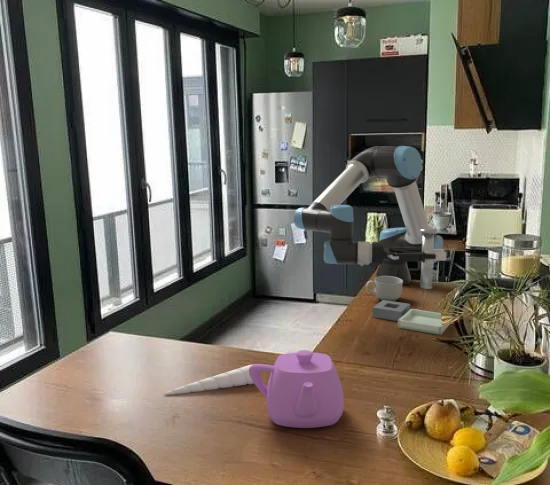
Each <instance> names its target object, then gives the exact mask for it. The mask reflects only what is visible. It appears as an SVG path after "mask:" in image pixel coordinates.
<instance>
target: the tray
mask: <svg viewBox="0 0 550 485" xmlns="http://www.w3.org/2000/svg"><path fill="white" fill-rule="evenodd" d="M441 313H442V312H435V311H428V310H424V309H423V310H421V309H417V308H416V309H415V308H410V310H409V311H408V312H407V313H406V314H405V315H403V316H402V317H401V318H400V319H399V320H398V321H397V328H399V329H405V330H409V331H410V330H411V331H416V332H422V333H427V334H433V335H438V336H442V335H443V334H444V332H446V330H447V328H449V326H450V325H451V324H452V322H451V323H450V324H448V325H446V326H444V325H442V324H441V323H442V322H443V321H442V320H441V318H440V317H441Z"/></svg>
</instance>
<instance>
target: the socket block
mask: <svg viewBox="0 0 550 485" xmlns="http://www.w3.org/2000/svg"><path fill="white" fill-rule="evenodd" d="M410 309H411V304H410V303H405V302H397V301H386V300H380V301H379V302H378V303H377V304H376V305H374V306H373V307H372V318H377V319H381V320H386V321H387V320H388V321H395V322H398V320H399V319H400V318H401V317H402V316H403V315H405V314H406V313H407V312H408V311H409V310H410Z"/></svg>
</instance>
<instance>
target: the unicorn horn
mask: <svg viewBox="0 0 550 485" xmlns="http://www.w3.org/2000/svg"><path fill="white" fill-rule="evenodd" d="M252 365H253V364H249V365H245V366H241V367H239V368H236V369H233V370H229V371H226V372H223V373H219V374H217V375H213V376H210V377H206V378H203V379H200V380H197V381H195V382H191V383H188V384H185V385H183V386H179V387H177V388H174V389H171V390H169V391H166V392H164V393H163V394H162V395H164V396H171V395H172V396H174V395H183V394H188V393H189V394H190V393H191V392H192V393H198V392H204V391H212V390H219V389H227V388H233V387H238V386H239V387H240V386H246V385H247V384H248V385H255V384H254V382H253V381H252V379H251V377H250V374H249V368H250V366H252Z"/></svg>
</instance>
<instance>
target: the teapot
mask: <svg viewBox="0 0 550 485" xmlns="http://www.w3.org/2000/svg"><path fill="white" fill-rule="evenodd" d="M251 365H252V366H250V368H249V374H250V377H251V379H252V381H253V382H254V384H253V385H255V387H257V388H258V390H259V391H260V392H261V393H262V395H263V396H264V397H265V405H266V411H267V414H268V416H269V417H270V419H271V421H272V422H273V423H274V424H276V425H278V426H282V427H287V428H296V429H297V428H298V429H312V428H313V429H314V428H321V427H322V428H323V427H328V426H333V425H335V424H336V423H337V422H338V421H339V420H340V418H341V417H342V415H343V412H344V407H345V406H344V405H345V404H344V393H343V386H342V383H341V379H340V377H339V373H338V372H337V369H336V367H335V364H334V362H333V360H332V358H331V356H329V355H328V354H327V353H326V354H325V353H322V352H321V353H320V352H312V351H310V350H308V349H302V350H298V351H296V352H290V353H289V352H288V353H282V354H280V355H279V356H277V357H276V360H275V361H274V365H272V364H265V363H255V364H251ZM261 372H270V375H269V379H268V382H267V387H266V385H265V384H264V382H263V380H262V378H261V375H260V374H261Z"/></svg>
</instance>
